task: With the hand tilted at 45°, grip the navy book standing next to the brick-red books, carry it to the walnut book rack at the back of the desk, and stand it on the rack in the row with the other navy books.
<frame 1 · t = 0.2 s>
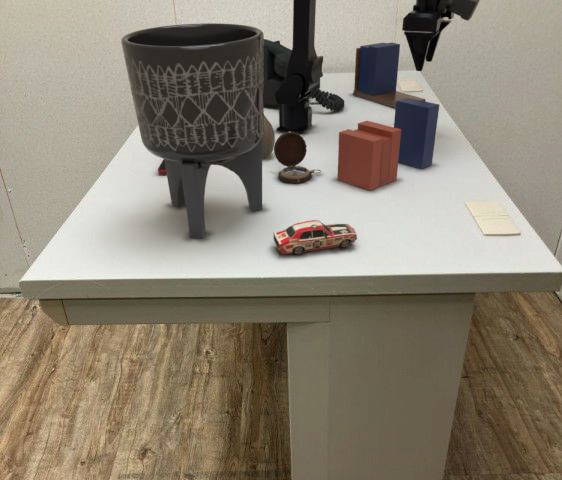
hand: (424, 66, 119), 14 cm above the table, tool pointing down, fingers open, 9 cm apart
brick-red books: (366, 179, 111), on the table
race car: (314, 248, 89), on the table
compass: (299, 177, 113), on the table
book rack: (388, 99, 156), on the table
planter: (211, 217, 99), on the table
smartphone: (183, 162, 121), on the table
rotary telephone: (292, 101, 158), on the table
navy book: (411, 162, 117), on the table
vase: (258, 157, 123), on the table
navy books: (376, 96, 159), resting on book rack
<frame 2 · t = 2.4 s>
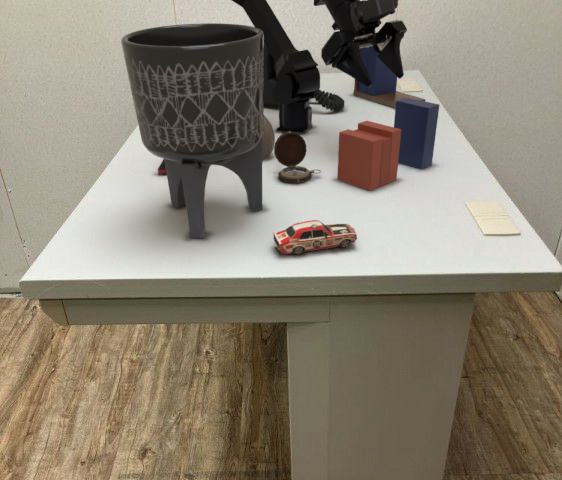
hand: (386, 81, 114), 14 cm above the table, tool tilted 45°, fingers open, 9 cm apart
nothing on the table moved.
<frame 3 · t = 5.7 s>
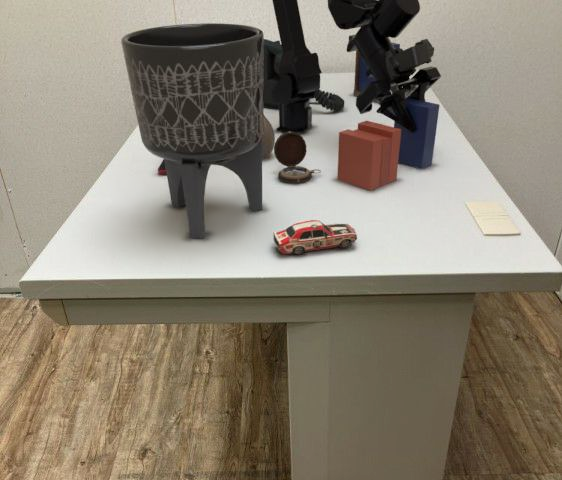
hand: (420, 129, 113), 7 cm above the table, tool tilted 45°, fingers closed on navy book, 3 cm apart
navy book: (411, 162, 117), on the table, touching gripper
everything else where it was.
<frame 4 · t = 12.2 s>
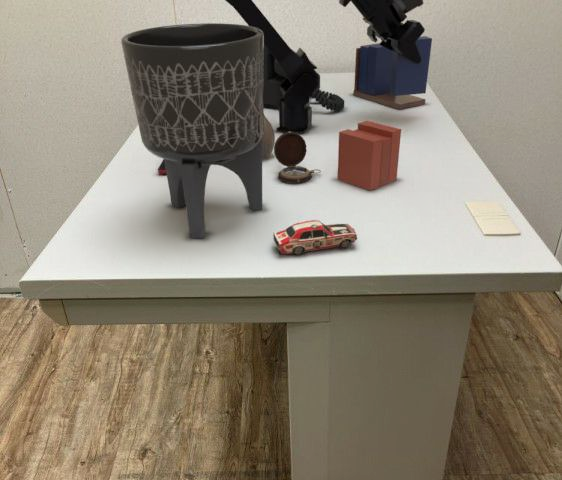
hand: (416, 60, 133), 12 cm above the table, tool tilted 45°, fingers closed on navy book, 3 cm apart
navy book: (407, 93, 137), point 6 cm above the table, touching gripper
everything else where it was.
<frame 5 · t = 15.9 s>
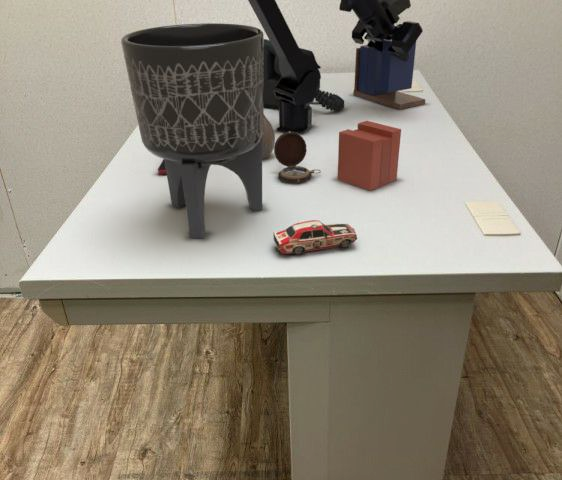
hand: (402, 58, 143), 11 cm above the table, tool tilted 45°, fingers closed on navy book, 3 cm apart
navy book: (395, 89, 146), point 4 cm above the table, touching gripper
everything else where it was.
when the fingers open (8 cm above the table, at t = 18.8 s): navy book stays where it is, resting on book rack.
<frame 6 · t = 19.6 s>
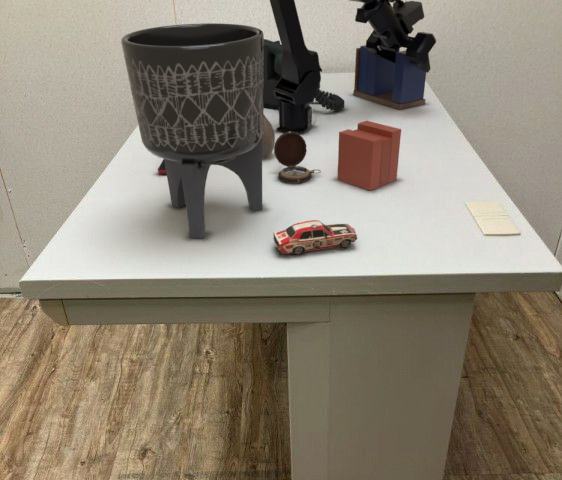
hand: (415, 67, 146), 8 cm above the table, tool tilted 45°, fingers open, 9 cm apart
navy book: (407, 100, 150), point 1 cm above the table, touching book rack
everything else where it was.
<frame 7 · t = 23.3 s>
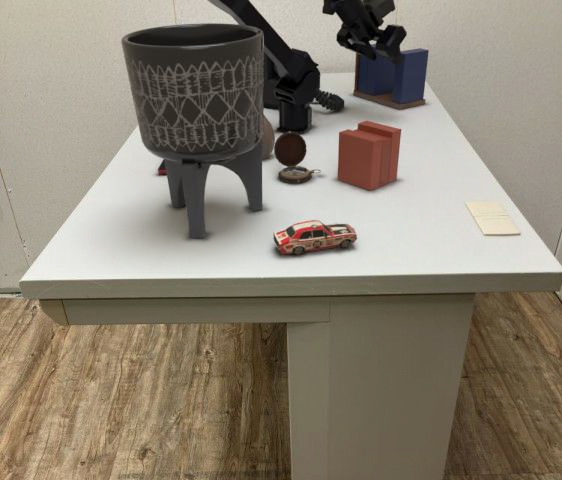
hand: (387, 62, 141), 11 cm above the table, tool tilted 45°, fingers open, 9 cm apart
nothing on the table moved.
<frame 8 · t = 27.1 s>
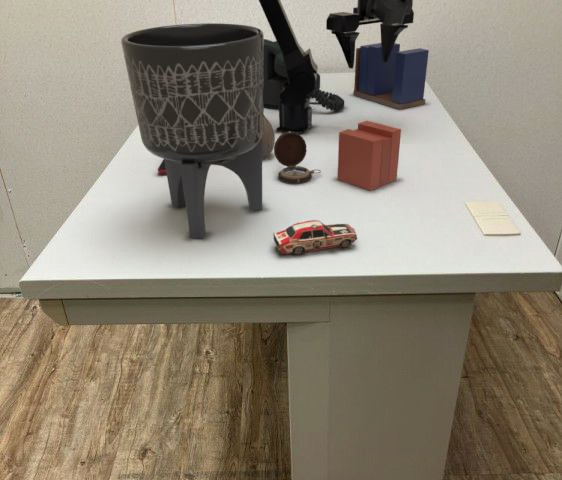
hand: (368, 65, 128), 13 cm above the table, tool pointing down, fingers open, 9 cm apart
nothing on the table moved.
at the end: navy book 0.0 cm from the target spot on the table beside the navy books, point 1.2 cm above the table; navy book tilted 0°; the gripper is holding nothing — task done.
